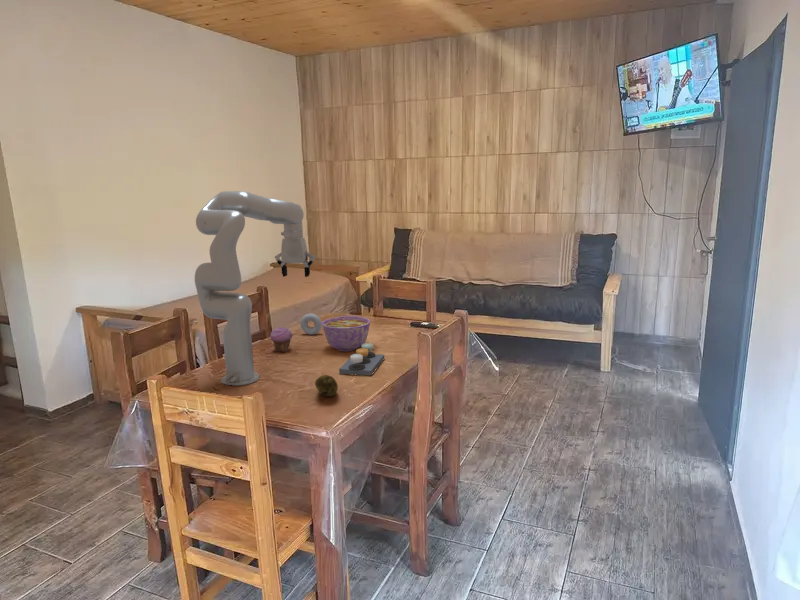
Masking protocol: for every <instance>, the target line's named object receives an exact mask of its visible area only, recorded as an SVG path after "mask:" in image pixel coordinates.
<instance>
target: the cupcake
mask: <svg viewBox="0 0 800 600" xmlns="http://www.w3.org/2000/svg"><path fill="white" fill-rule="evenodd" d="M292 338H293V333H292V331H291V330H290V329H289V328H288V327H285V326H284V327H283V326H282V327H276V328H274V329H273V330H272V331H271V332H270V338H269V339H270V340H271V341H272V342H273V349H274V351H275V352H277V353H279V352H280V353H286V352H287V351H288V349H289V347H290V344H291V339H292Z"/></svg>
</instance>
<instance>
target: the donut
mask: <svg viewBox="0 0 800 600" xmlns="http://www.w3.org/2000/svg"><path fill="white" fill-rule="evenodd" d="M299 322H300V324H299V327H300V328H301V330H302V331H303V333H305V334H307V335H311V336H312V335H316V334H319V332H320V331H321V330H322V328H323V326H322V322H323V321H322V319H321V318H320V316H319V315H317V314H315V313H311V312H310V313H307V314H305V315H303V316H302V317H301V318H300V321H299ZM309 322H312V323H313V324H314V325H313V327H311V326H309V324H308V323H309Z"/></svg>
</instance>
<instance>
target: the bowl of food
mask: <svg viewBox="0 0 800 600" xmlns="http://www.w3.org/2000/svg"><path fill="white" fill-rule="evenodd" d="M321 322H322V328H323V332H324V336H325V339H326V340H327V344H328V345H329V346H330V347H332V348H333V349H336V350H337V351H339V350H340V352H352V351H351V350H353V351H356V350H357V349H360V348H361V347H362V344H364V343H366V341H367V339H368V335H369V330H370V326H371V320H370V319H369V318H368V317H364V316H357V315H352V316H351V315H344V316H343V315H342V316H335V317H330V318H327V319H324V320H323V321H321ZM355 349H356V350H355Z"/></svg>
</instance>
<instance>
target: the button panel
mask: <svg viewBox="0 0 800 600" xmlns="http://www.w3.org/2000/svg"><path fill="white" fill-rule="evenodd" d="M354 354H356V352H355V353H354ZM383 359H384V360H385V354H378V353H375V352H373V351H368V356H366V357H363V361H362V362H360V363H352V362H351V357H350V358H348V359H347V360H346V362H344V363H343V364H342V365H341V367H340V368H339V369H338V372H339V373H338V374H339V375H343V374H353V375H352V376H360V375H372V376H373V374H374V373H375V372H376V371H375V369H376V368H377V367H378V366H379V364H380V363H381V362H382V361H383ZM383 362H384V361H383ZM383 362H382V363H383ZM382 363H381V364H382ZM381 364H380V365H381ZM379 367H380V366H379ZM379 367H378V368H379ZM378 368H377V369H378ZM377 369H376V370H377ZM374 371H375V372H374ZM373 372H374V373H373ZM372 373H373V374H372ZM355 374H356V375H355Z"/></svg>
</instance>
